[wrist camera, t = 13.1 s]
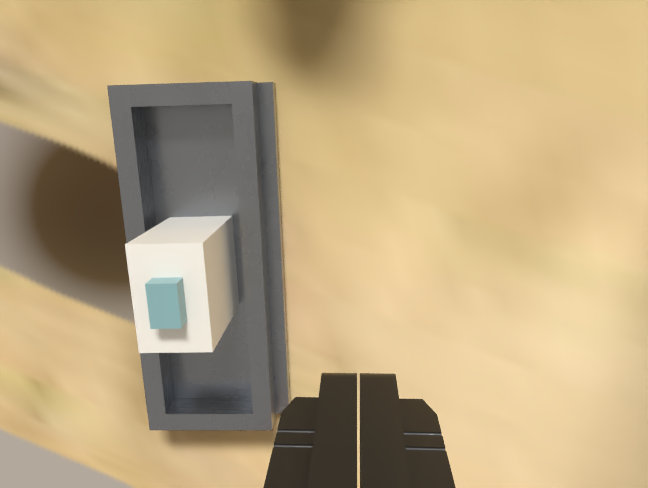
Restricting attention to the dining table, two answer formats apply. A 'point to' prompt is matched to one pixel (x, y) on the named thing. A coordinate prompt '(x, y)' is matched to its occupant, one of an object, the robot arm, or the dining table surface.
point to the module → (183, 284)
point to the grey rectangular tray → (249, 239)
